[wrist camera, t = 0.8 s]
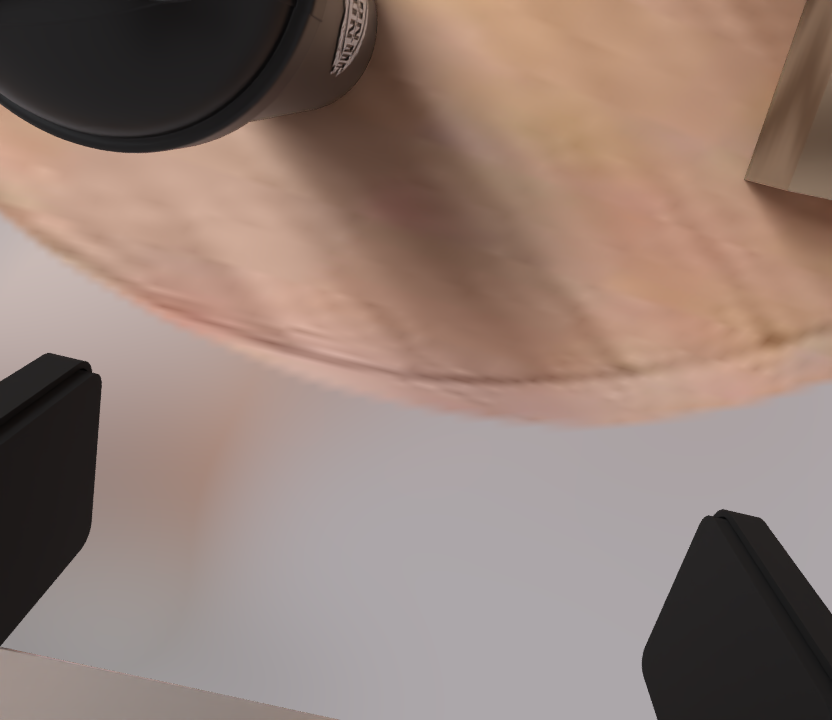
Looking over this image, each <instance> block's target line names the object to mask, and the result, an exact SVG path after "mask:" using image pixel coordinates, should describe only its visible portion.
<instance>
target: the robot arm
mask: <svg viewBox="0 0 832 720" xmlns="http://www.w3.org/2000/svg"><path fill="white" fill-rule="evenodd" d="M101 384H102V381H101V377H100V375H99V374H95V373H92V369H91V365H90V364H89V363H88V362H86V361H82V360H77V359H73V358H69V357H65V356H60V355H56V354H52V353H47V354H44V355H42V356H41V357H39V358H37V359H36V360H34V361H33V362H31V363H29V364H28V365H26V366H24V367H23V368H22V369H20V370H18V371H16V372H15V373H13V374H12V375H10V376H8V377H7V378H5V379H3V380H2V381H0V646H1V645H2V644H3V642H4V641H5V640H6V639H7V638H8V636H9V635H10V634H11V633H12V631H13V630H14V629H15V628H16V627H17V626H18V624H19V623H20V622H21V621H22V619H23V618H24V617H25V616H26V615H27V613H28V612H29V611H30V610H31V609H32V607H33V606H34V605H35V604H36V603H37V602H38V600H39V599H40V598H41V597H42V596H43V594H44V593H45V592H46V591H47V589H48V588H49V587H50V586H51V585H52V584H53V582H54V581H55V580H56V579H57V577H58V576H59V575H60V574H61V573H62V572H63V570H64V569H65V568H66V567H67V566H68V564H69V563H70V562H71V561H72V560H73V558H74V557H75V556H76V554H77V553H78V552H79V551H80V550H81V549H82V547H83V546H84V544H85V542H86V540H87V537H88V535H89V532H90V528H91V522H92V509H93V494H94V481H95V468H96V455H97V441H98V428H99V414H100V400H101V388H102V385H101ZM642 672H643V676H644V679H645V682H646V685H647V688H648V692H649V694H650V698H651V701H652V704H653V707H654V710H655V713H656V716H657V719H658V720H832V614H831V612H830V611H829V610H828V608H827V607H826V605H825V604H824V603H823V602H822V600H821V599H820V597H819V596H818V595H817V593H816V592H815V590H814V589H813V588H812V586H811V585H810V584H809V582H808V581H807V579H806V578H805V577H804V575H803V574H802V573H801V571H800V570H799V569H798V567H797V566H796V564H795V563H794V562H793V560H792V559H791V558H790V556H789V555H788V553H787V552H786V551H785V549H784V548H783V546H782V545H781V544H780V542H779V541H778V540H777V538H776V537H775V535H774V534H773V533H772V531H771V530H770V529H769V527H768V526H767V524H766V523H765V522H764V521H763V520H762V519H761V518H758V517H754V516H750V515H745V514H741V513H736V512H733V511H728V510H724V509H722V510H719V511H718V512H717V513H716V514H715V515H714V516H709V515H708V516H706V517H704V519H702V521H701V523H700V525H699V527H698V529H697V531H696V533H695V536H694V538H693V540H692V542H691V545H690V547H689V549H688V552H687V554H686V556H685V558H684V560H683V563H682V565H681V567H680V570H679V572H678V574H677V576H676V579H675V581H674V583H673V585H672V588H671V590H670V592H669V594H668V597H667V599H666V601H665V603H664V606H663V608H662V610H661V613H660V615H659V617H658V619H657V621H656V624H655V626H654V628H653V630H652V633H651V635H650V637H649V639H648V642H647V644H646V646H645V649H644V652H643V657H642ZM0 720H338V719H332V718H328V717H323V716H319V715H314V714H310V713H305V712H301V711H296V710H291V709H286V708H282V707H277V706H273V705H268V704H264V703H259V702H254V701H250V700H245V699H241V698H236V697H232V696H227V695H222V694H218V693H213V692H209V691H204V690H199V689H195V688H190V687H186V686H181V685H177V684H172V683H167V682H163V681H158V680H153V679H148V678H143V677H139V676H134V675H129V674H125V673H120V672H115V671H110V670H106V669H101V668H97V667H92V666H87V665H83V664H78V663H73V662H68V661H64V660H59V659H55V658H50V657H45V656H41V655H36V654H31V653H26V652H22V651H17V650H12V649H8V648H3V647H0Z"/></svg>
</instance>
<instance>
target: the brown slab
mask: <svg viewBox="0 0 832 720" xmlns="http://www.w3.org/2000/svg"><path fill="white" fill-rule="evenodd" d="M744 180H747V181H751V182H755V183H759V184H763V185H767V186H770V187H774V188H778V189H782V190H786V191H790V192H795V193H800V194H805V195H810V196H814V197H819V198H824V199H829V200H832V0H807V2H806V4H805V7H804V10H803V13H802V16H801V19H800V22H799V24H798V27H797V30H796V33H795V36H794V39H793V42H792V44H791V47H790V50H789V53H788V56H787V59H786V62H785V65H784V67H783V70H782V73H781V76H780V79H779V82H778V85H777V87H776V90H775V93H774V96H773V99H772V102H771V105H770V107H769V110H768V113H767V116H766V119H765V122H764V125H763V128H762V130H761V133H760V136H759V139H758V142H757V145H756V148H755V150H754V153H753V156H752V159H751V162H750V165H749V168H748V170H747V173H746V176H745V179H744Z"/></svg>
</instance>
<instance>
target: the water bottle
mask: <svg viewBox="0 0 832 720" xmlns="http://www.w3.org/2000/svg"><path fill="white" fill-rule="evenodd" d="M376 33H377V11H376V3H375V0H0V104H1V105H3V106H4V107H5V108H7V109H8V110H10V111H11V112H12V113H14V114H15V115H17V116H18V117H20V118H22V119H23V120H25V121H27V122H28V123H30V124H32V125H34V126H35V127H37V128H39V129H41V130H43V131H45V132H47V133H49V134H52V135H54V136H56V137H59V138H61V139H64V140H67V141H70V142H73V143H76V144H79V145H83V146H87V147H91V148H95V149H100V150H105V151H112V152H122V153H151V152H160V151H167V150H173V149H180V148H186V147H191V146H196V145H200V144H203V143H207V142H210V141H213V140H215V139H218V138H221V137H223V136H225V135H227V134H229V133H231V132H233V131H235V130H237V129H239V128H240V127H242V126H244V125H245V124H247V123H248V122H252V121H257V120H262V119H268V118H273V117H278V116H283V115H288V114H293V113H298V112H303V111H308V110H313V109H317V108H321V107H323V106H326V105H328V104H330V103H332V102H334V101H336V100H337V99H339V98H340V97H342V96H343V95H344V94H345V93H347V92H348V91H349V90H350V89H351V88H352V87H353V86H354V85H355V83H356V82H357V81H358V80H359V78H360V77H361V75H362V74H363V72H364V70H365V69H366V67H367V65H368V63H369V60H370V58H371V55H372V52H373V49H374V45H375V40H376Z"/></svg>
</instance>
